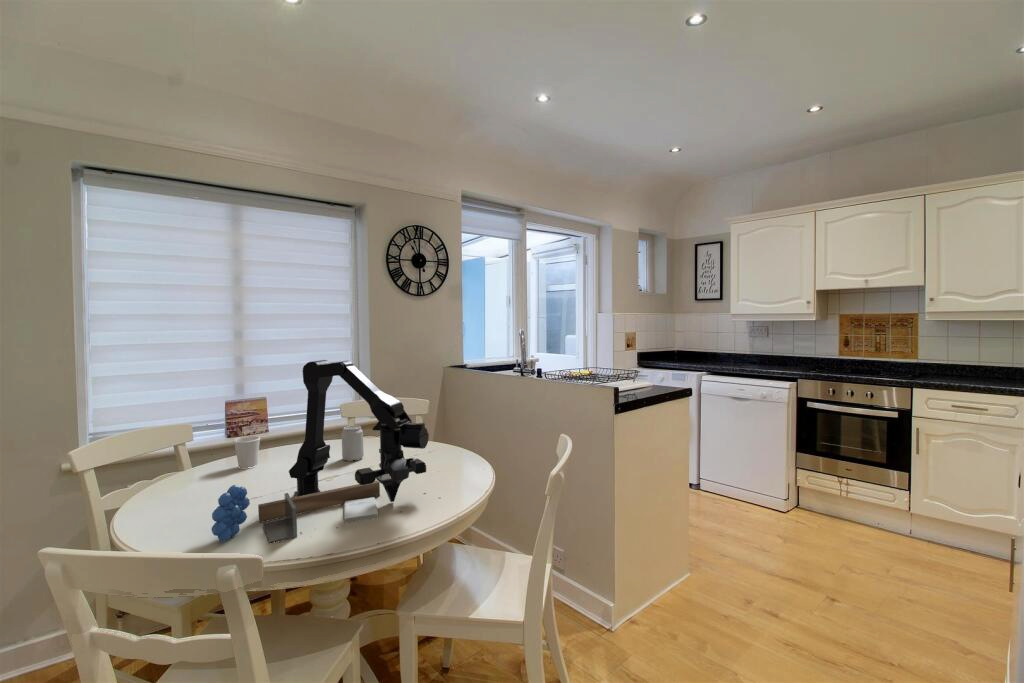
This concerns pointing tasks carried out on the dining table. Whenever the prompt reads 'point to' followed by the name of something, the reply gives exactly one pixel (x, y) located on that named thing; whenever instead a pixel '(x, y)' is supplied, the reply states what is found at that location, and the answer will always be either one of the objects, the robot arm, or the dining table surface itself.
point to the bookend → (283, 524)
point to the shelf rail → (319, 500)
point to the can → (352, 443)
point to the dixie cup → (247, 451)
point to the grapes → (230, 512)
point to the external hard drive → (360, 509)
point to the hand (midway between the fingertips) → (392, 501)
